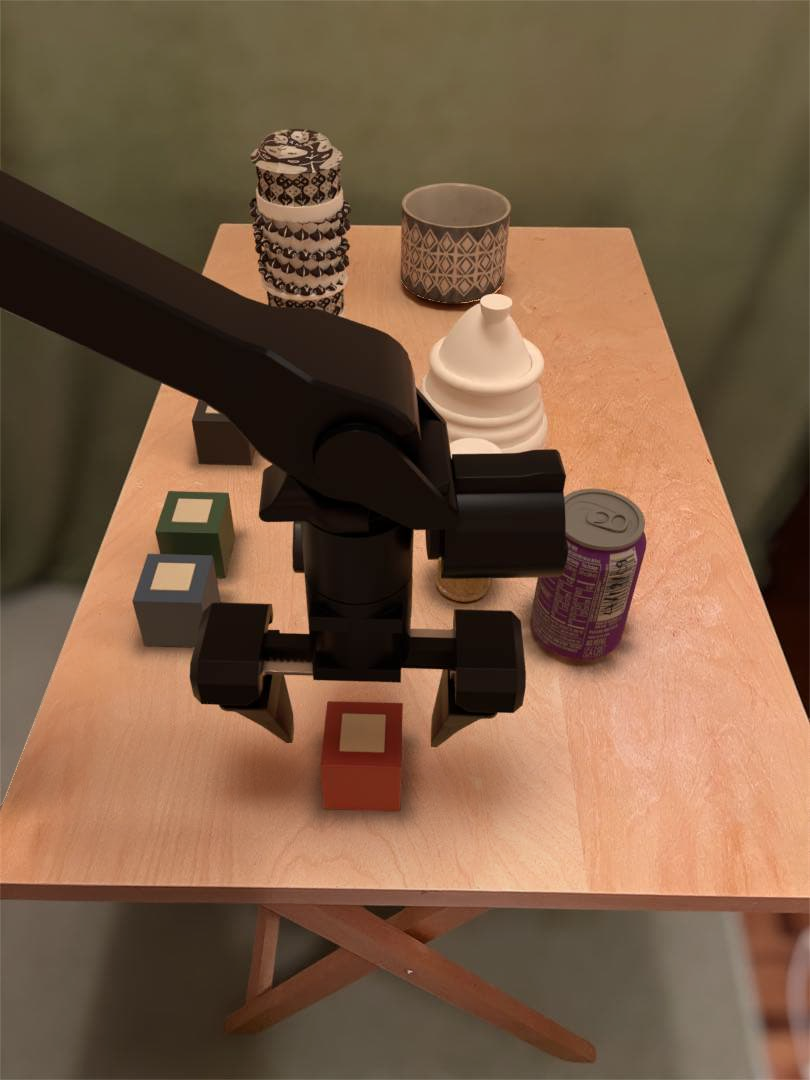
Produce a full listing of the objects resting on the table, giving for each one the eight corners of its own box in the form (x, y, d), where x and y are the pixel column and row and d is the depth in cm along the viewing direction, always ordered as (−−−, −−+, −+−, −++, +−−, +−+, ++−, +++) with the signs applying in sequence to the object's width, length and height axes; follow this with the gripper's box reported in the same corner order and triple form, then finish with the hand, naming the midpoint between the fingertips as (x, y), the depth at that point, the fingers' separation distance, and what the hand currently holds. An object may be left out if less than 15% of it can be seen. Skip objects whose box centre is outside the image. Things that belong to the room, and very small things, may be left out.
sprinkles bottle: (500, 585, 75) (518, 454, 66) (463, 613, 73) (475, 481, 64) (460, 556, 77) (471, 427, 68) (422, 583, 75) (428, 452, 66)
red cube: (399, 811, 60) (401, 766, 56) (323, 809, 60) (320, 764, 56) (401, 746, 63) (403, 701, 60) (329, 744, 63) (326, 699, 60)
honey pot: (560, 498, 83) (591, 322, 71) (423, 516, 81) (431, 337, 69) (519, 418, 92) (540, 249, 80) (394, 432, 90) (397, 260, 78)
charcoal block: (251, 465, 86) (246, 420, 83) (198, 463, 86) (191, 419, 83) (258, 433, 90) (254, 389, 86) (208, 432, 90) (201, 388, 86)
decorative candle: (331, 415, 92) (321, 164, 75) (250, 394, 95) (223, 147, 78) (367, 370, 99) (366, 129, 82) (291, 352, 101) (273, 114, 84)
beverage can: (627, 611, 73) (658, 497, 65) (612, 677, 68) (644, 562, 60) (540, 589, 75) (560, 475, 67) (519, 652, 70) (538, 536, 62)
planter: (390, 268, 116) (390, 186, 109) (484, 259, 119) (491, 179, 111) (414, 317, 107) (417, 231, 100) (516, 306, 110) (526, 222, 102)
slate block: (209, 647, 70) (200, 601, 66) (144, 646, 70) (131, 599, 66) (220, 600, 73) (212, 553, 70) (158, 598, 73) (147, 552, 70)
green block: (225, 578, 75) (218, 531, 72) (164, 576, 75) (154, 530, 72) (235, 536, 79) (228, 491, 75) (177, 535, 79) (167, 489, 75)
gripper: (524, 474, 54) (500, 647, 64) (208, 465, 54) (236, 640, 64) (541, 613, 46) (510, 785, 56) (168, 603, 46) (208, 776, 56)
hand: (362, 739), depth 59 cm, fingers open, 9 cm apart
